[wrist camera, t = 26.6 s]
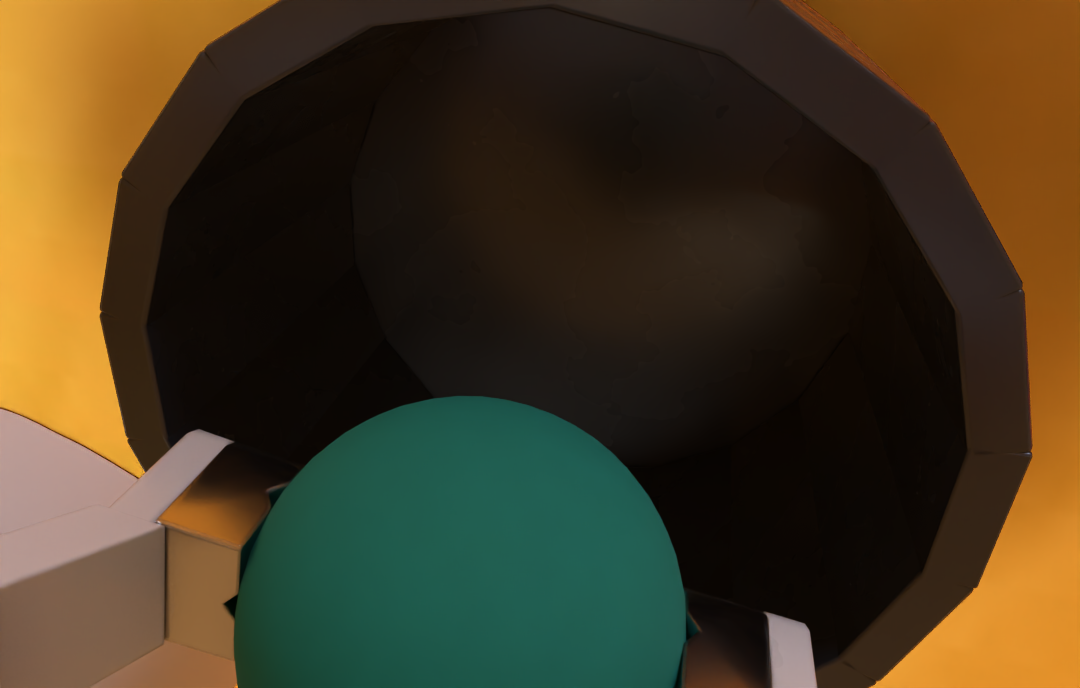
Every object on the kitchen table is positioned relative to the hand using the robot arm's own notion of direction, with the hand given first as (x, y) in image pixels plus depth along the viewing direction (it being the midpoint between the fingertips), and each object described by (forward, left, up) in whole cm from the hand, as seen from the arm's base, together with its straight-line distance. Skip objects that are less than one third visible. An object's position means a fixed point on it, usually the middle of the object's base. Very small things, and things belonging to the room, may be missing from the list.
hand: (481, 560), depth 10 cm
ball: (0, 0, -2) cm, 2 cm away
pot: (0, 0, -11) cm, 11 cm away
